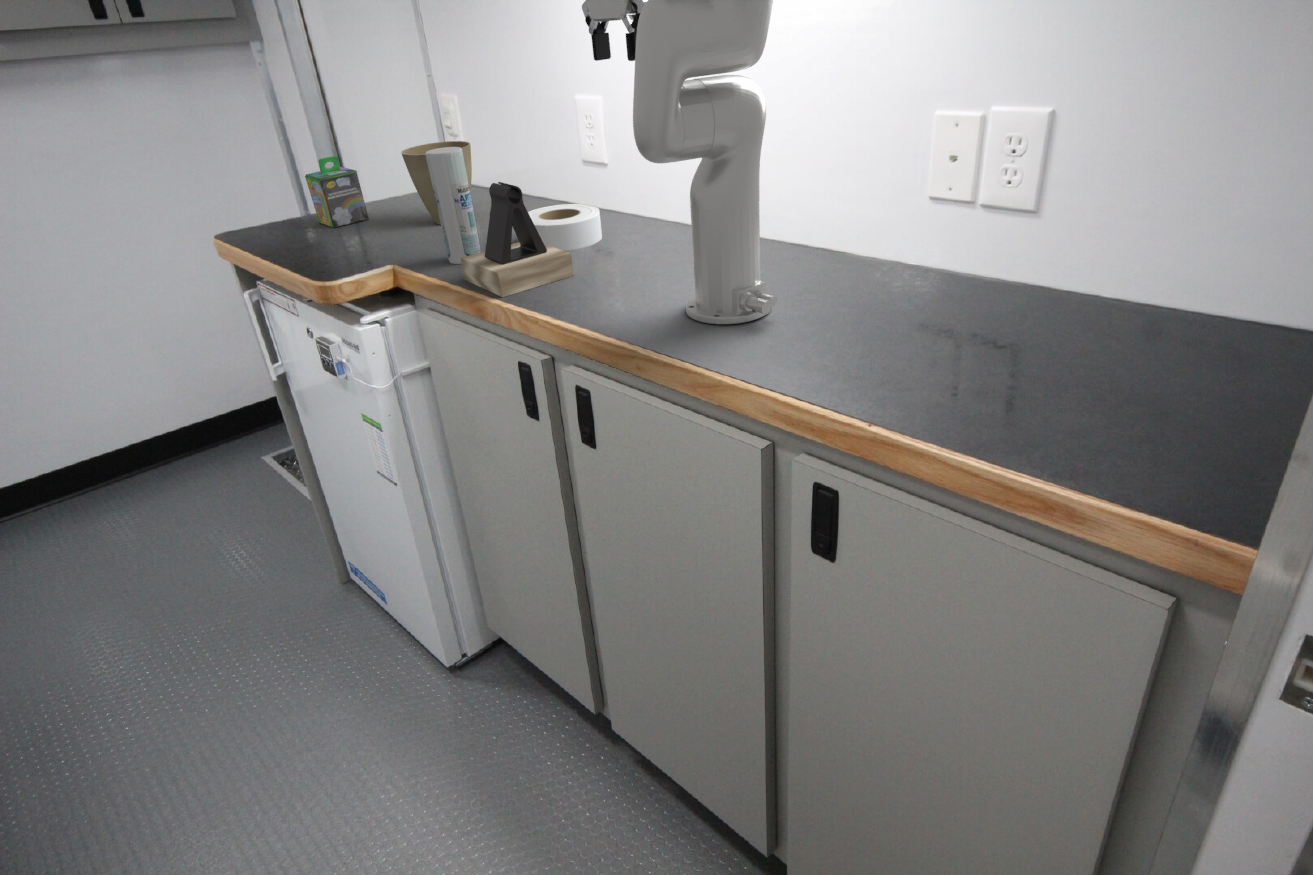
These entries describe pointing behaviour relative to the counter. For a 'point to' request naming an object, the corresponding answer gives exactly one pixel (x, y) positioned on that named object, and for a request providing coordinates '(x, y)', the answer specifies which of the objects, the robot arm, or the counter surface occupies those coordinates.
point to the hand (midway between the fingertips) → (619, 59)
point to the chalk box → (336, 194)
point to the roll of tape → (568, 225)
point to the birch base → (517, 271)
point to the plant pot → (421, 175)
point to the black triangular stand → (510, 226)
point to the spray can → (453, 202)
